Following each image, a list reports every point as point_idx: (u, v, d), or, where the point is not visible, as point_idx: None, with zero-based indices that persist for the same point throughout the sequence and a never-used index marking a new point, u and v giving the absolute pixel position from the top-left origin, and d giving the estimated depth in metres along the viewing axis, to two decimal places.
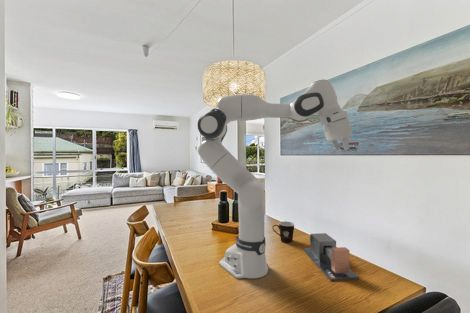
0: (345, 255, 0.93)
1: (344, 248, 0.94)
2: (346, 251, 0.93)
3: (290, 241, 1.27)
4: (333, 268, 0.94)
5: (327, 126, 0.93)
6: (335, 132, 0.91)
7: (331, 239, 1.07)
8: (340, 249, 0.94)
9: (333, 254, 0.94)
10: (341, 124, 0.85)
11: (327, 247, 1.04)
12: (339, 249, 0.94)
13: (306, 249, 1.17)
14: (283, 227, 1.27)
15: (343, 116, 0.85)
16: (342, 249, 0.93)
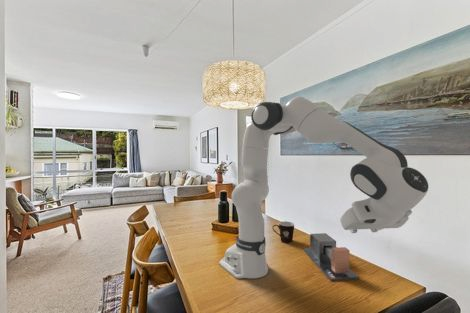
0: (345, 255, 0.93)
1: (344, 248, 0.94)
2: (346, 251, 0.93)
3: (290, 241, 1.27)
4: (333, 268, 0.94)
5: None
6: None
7: (331, 239, 1.07)
8: (340, 249, 0.94)
9: (333, 254, 0.94)
10: (348, 215, 0.72)
11: (327, 247, 1.04)
12: (339, 249, 0.94)
13: (306, 249, 1.17)
14: (283, 227, 1.27)
15: (356, 216, 0.69)
16: (342, 249, 0.93)
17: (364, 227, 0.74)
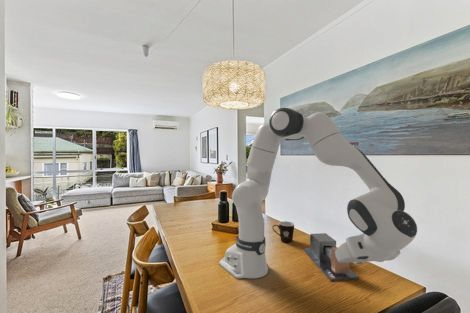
0: None
1: None
2: None
3: (290, 241, 1.27)
4: (333, 268, 0.94)
5: None
6: None
7: (331, 239, 1.07)
8: None
9: (333, 254, 0.94)
10: (342, 249, 0.75)
11: (327, 247, 1.04)
12: None
13: (306, 249, 1.17)
14: (283, 227, 1.27)
15: (350, 252, 0.72)
16: None
17: (358, 260, 0.77)
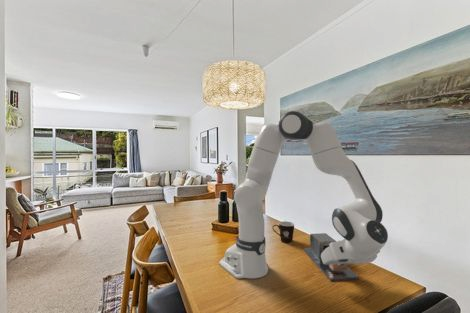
0: None
1: None
2: None
3: (290, 241, 1.27)
4: (331, 266, 0.95)
5: None
6: None
7: (331, 239, 1.07)
8: None
9: None
10: (326, 253, 0.86)
11: (325, 246, 1.05)
12: None
13: (306, 249, 1.17)
14: (283, 227, 1.27)
15: (333, 255, 0.83)
16: None
17: (340, 262, 0.87)
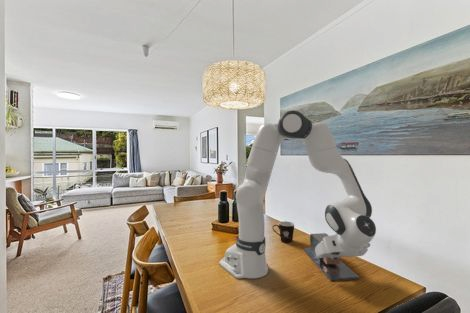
0: None
1: None
2: None
3: (290, 241, 1.27)
4: (325, 260, 1.01)
5: None
6: None
7: None
8: None
9: None
10: (320, 247, 0.91)
11: None
12: None
13: (306, 249, 1.17)
14: (283, 227, 1.27)
15: (326, 249, 0.88)
16: None
17: (333, 256, 0.93)
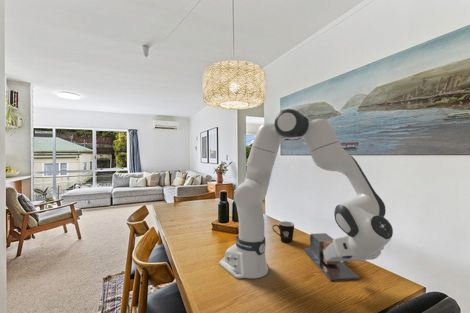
0: None
1: None
2: None
3: (290, 241, 1.27)
4: (325, 260, 1.01)
5: None
6: None
7: (331, 239, 1.07)
8: (331, 242, 1.01)
9: (325, 247, 1.01)
10: (329, 250, 0.84)
11: None
12: (330, 242, 1.01)
13: (306, 249, 1.17)
14: (283, 227, 1.27)
15: (336, 252, 0.81)
16: None
17: (343, 259, 0.86)
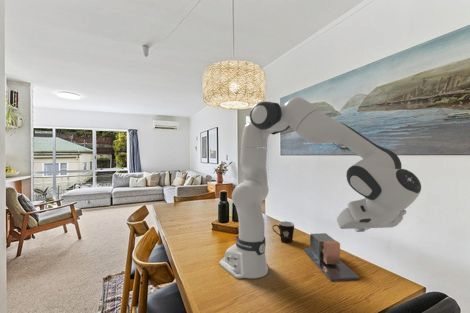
0: (336, 248, 1.00)
1: (335, 242, 1.01)
2: (337, 244, 1.00)
3: (290, 241, 1.27)
4: (325, 260, 1.01)
5: None
6: None
7: (331, 239, 1.07)
8: (331, 242, 1.01)
9: (325, 247, 1.01)
10: (344, 214, 0.74)
11: None
12: (330, 242, 1.01)
13: (306, 249, 1.17)
14: (283, 227, 1.27)
15: (352, 216, 0.71)
16: (333, 242, 1.00)
17: (360, 226, 0.76)
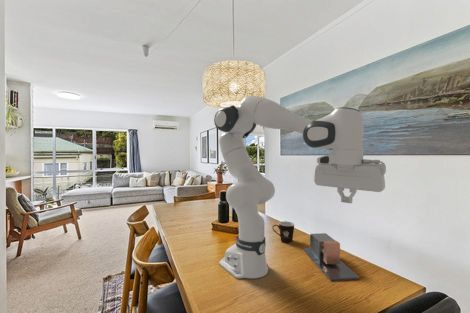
0: (336, 248, 1.00)
1: (335, 242, 1.01)
2: (337, 244, 1.00)
3: (290, 241, 1.27)
4: (325, 260, 1.01)
5: None
6: None
7: (331, 239, 1.07)
8: (331, 242, 1.01)
9: (325, 247, 1.01)
10: None
11: None
12: (330, 242, 1.01)
13: (306, 249, 1.17)
14: (283, 227, 1.27)
15: None
16: (333, 242, 1.00)
17: (333, 181, 0.73)
